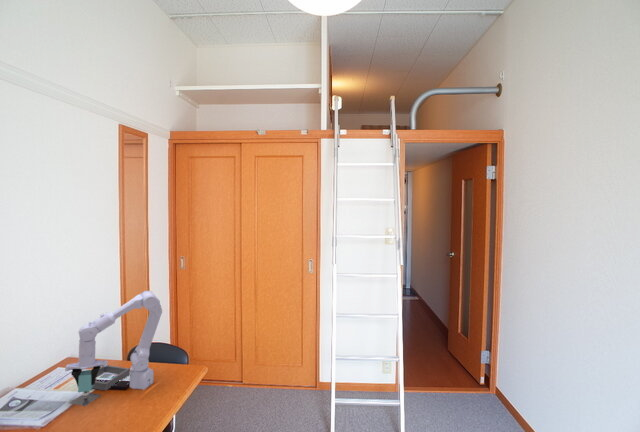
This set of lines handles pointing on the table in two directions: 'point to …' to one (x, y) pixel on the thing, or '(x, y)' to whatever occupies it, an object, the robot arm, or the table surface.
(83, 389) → the socket block
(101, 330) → the robot arm
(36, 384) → the table surface
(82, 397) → the stud plate
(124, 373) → the bin
